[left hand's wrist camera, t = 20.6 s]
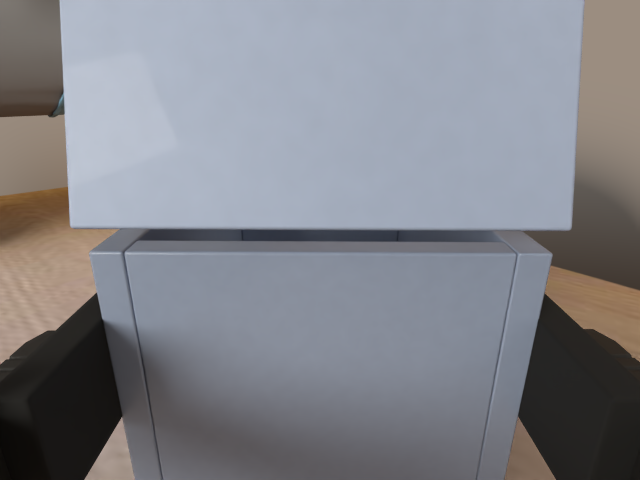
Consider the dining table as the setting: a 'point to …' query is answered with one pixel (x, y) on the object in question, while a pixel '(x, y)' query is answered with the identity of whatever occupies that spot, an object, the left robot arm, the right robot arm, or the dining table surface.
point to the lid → (321, 114)
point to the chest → (320, 350)
